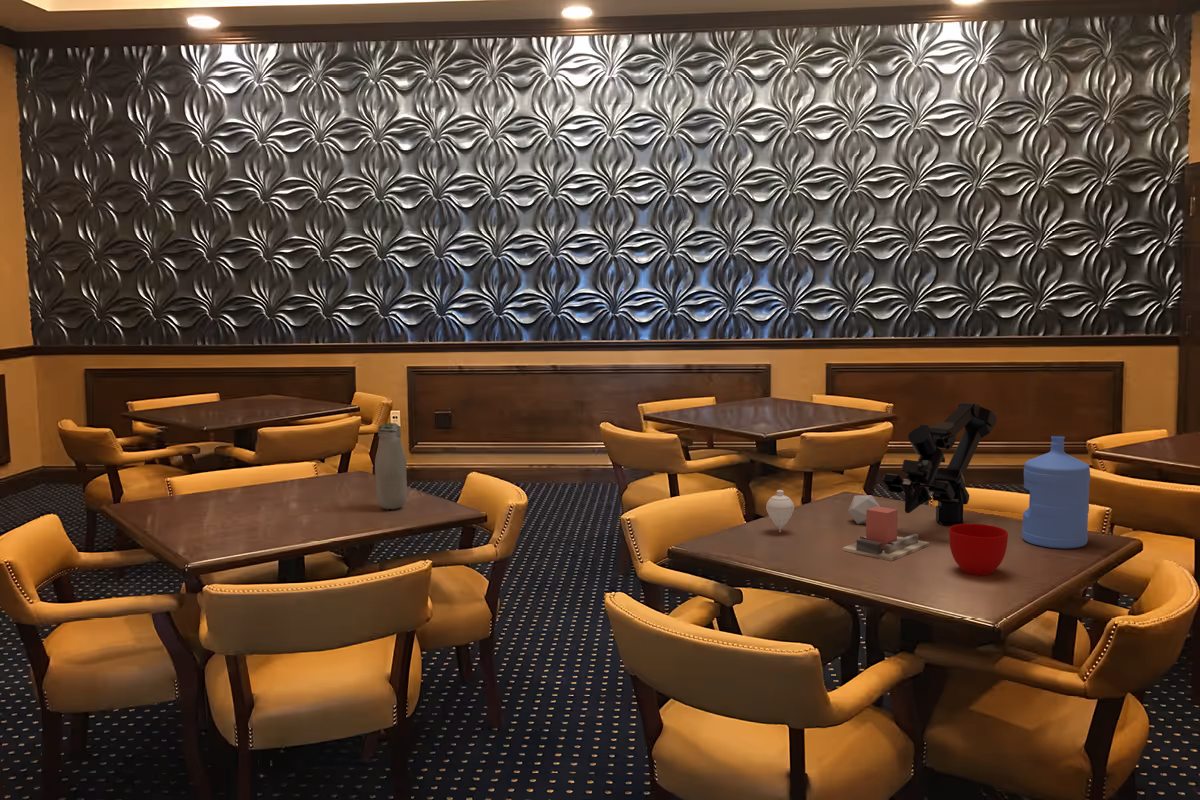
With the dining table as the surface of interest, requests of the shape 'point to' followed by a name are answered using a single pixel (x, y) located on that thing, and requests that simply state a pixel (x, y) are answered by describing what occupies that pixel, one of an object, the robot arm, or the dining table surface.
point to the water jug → (1056, 499)
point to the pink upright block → (881, 525)
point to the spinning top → (780, 509)
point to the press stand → (887, 547)
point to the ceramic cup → (978, 547)
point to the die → (861, 507)
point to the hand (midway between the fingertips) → (906, 512)
